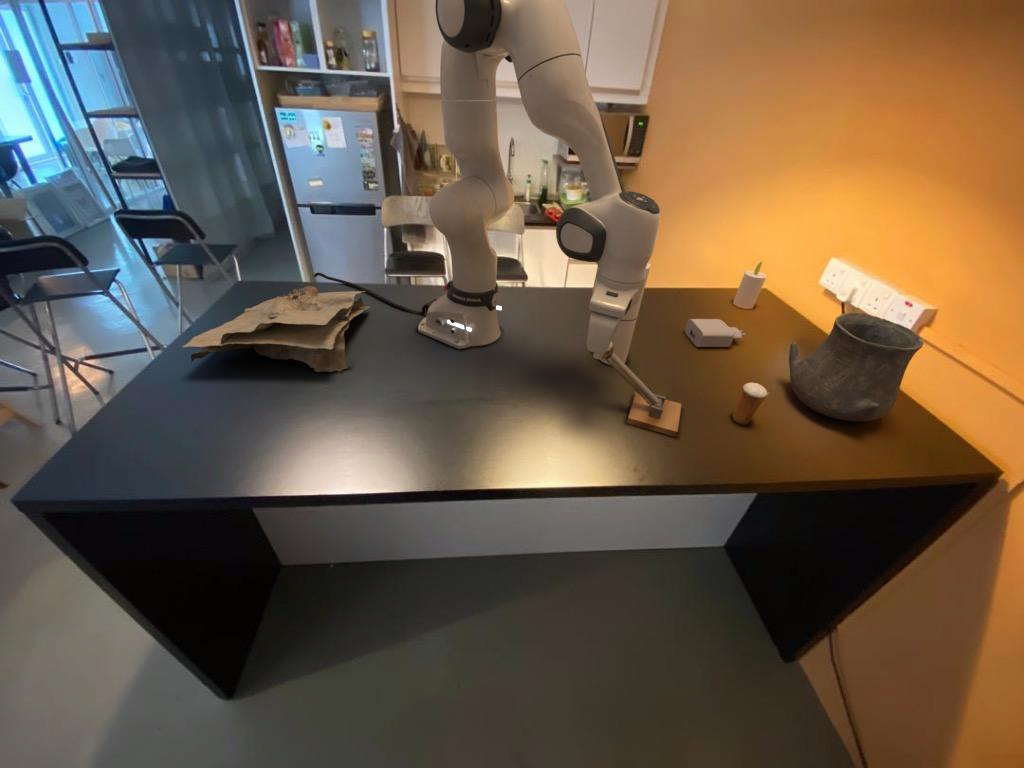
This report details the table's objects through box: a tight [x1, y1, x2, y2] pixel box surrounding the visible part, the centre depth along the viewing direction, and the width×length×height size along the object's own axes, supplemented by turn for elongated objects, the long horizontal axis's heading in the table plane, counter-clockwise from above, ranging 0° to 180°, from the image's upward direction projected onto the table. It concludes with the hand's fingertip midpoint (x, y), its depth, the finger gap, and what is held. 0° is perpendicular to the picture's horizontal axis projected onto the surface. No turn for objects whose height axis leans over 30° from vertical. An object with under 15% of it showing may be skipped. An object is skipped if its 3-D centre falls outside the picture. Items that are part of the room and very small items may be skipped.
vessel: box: [788, 312, 925, 422], centre depth 92 cm, size 22×22×20 cm
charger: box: [684, 318, 747, 348], centre depth 118 cm, size 5×9×15 cm
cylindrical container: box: [600, 262, 651, 366], centre depth 102 cm, size 7×7×25 cm
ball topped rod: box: [588, 340, 663, 408], centre depth 88 cm, size 21×5×5 cm
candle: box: [732, 260, 767, 310], centre depth 136 cm, size 6×6×15 cm
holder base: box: [626, 391, 682, 438], centre depth 90 cm, size 10×10×4 cm
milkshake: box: [732, 381, 776, 425], centre depth 89 cm, size 4×5×10 cm
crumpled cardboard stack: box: [182, 285, 370, 373], centre depth 105 cm, size 35×16×32 cm
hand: (601, 349), depth 88 cm, fingers closed on ball topped rod, 5 cm apart
